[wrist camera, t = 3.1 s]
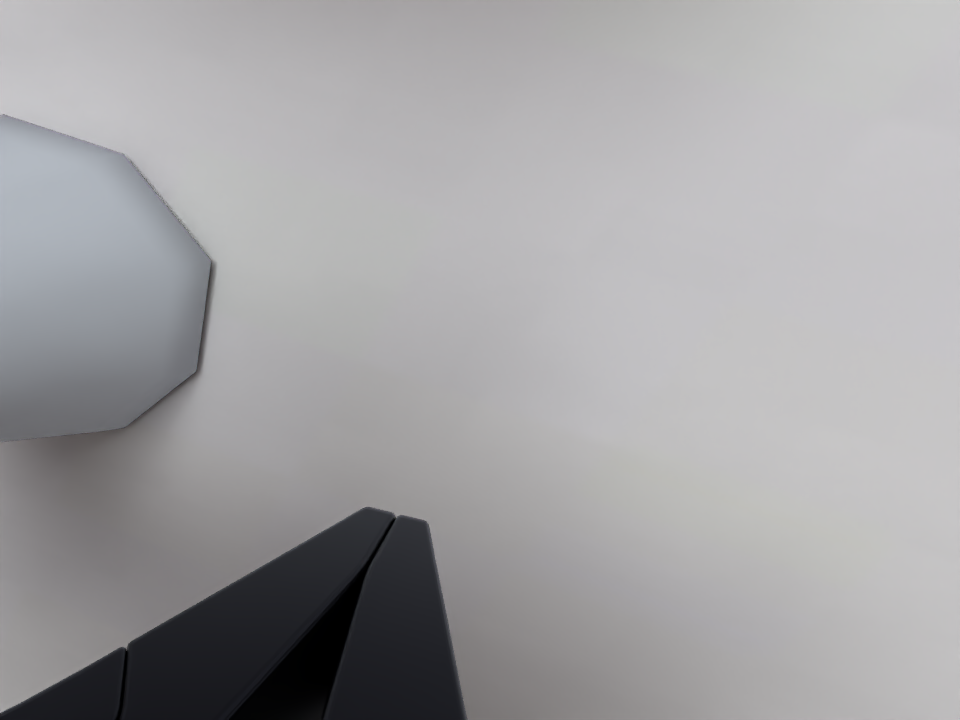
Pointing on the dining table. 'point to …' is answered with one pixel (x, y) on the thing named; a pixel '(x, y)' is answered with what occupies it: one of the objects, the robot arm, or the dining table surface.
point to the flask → (89, 288)
